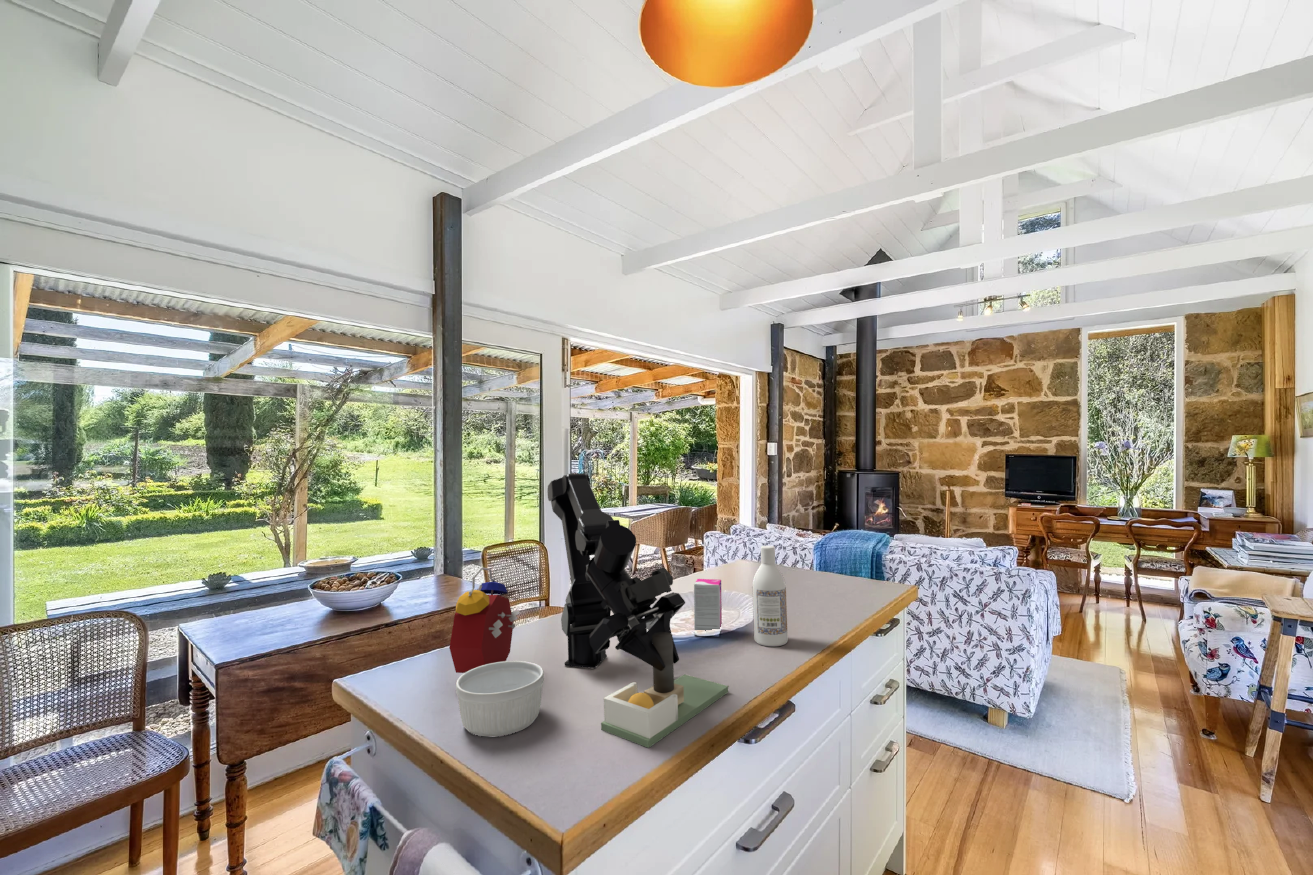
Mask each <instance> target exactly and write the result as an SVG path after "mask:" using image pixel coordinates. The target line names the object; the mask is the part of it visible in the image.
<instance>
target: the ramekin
mask: <svg viewBox="0 0 1313 875" xmlns="http://www.w3.org/2000/svg"><path fill="white" fill-rule="evenodd" d="M544 682H545V673H544V670H543V668H542V666H541V665H539V664H537V663H534V662H530V661H525V660H506V661H503V662H496V663H490V664H486V665H482V666H479V667H476V668H474V669H471V670H469V671H467V672H466V673H462V674H461V675H460V676H459V677H458V678H457V680H456V683H455V694H456V696H457V700H458V709H459V713H460V714H459V715H460V719H461V723H462V726H463V727H464V728H465V730H467V731H468V732H469V733H470V732H471V733H470V734H472V733H473V734H472V735H474V734H475V735H474V736H476V735H478V736H477V737H481V736H499V737H504V735H505V736H508V734H509V735H513V734H515V732H516V733H518V732H521V731H522V730H524V729H526V728H528V727H530V725H532V724H533V723H534V722H535V720H536V719H537V717H538V716H539V714H540V710H541V705H542V693H543V683H544ZM512 733H513V734H512Z"/></svg>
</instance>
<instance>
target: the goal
mask: <svg viewBox="0 0 1313 875" xmlns="http://www.w3.org/2000/svg"><path fill="white" fill-rule="evenodd" d="M636 693H639V692H638V682H636V681H633V682H631V683H629V684H627V685H626V686H624V687H622V688H620V689H618V690H616V691H614V692H612V693H611V694H609V695H606V696H605V697H603V710H604V711H603V715H604V716H603V717H604V718H603V719H604V720H603V721H604V722H606V723H609V724H612V725H614V726H617V727H620V728H622V729H625V730H628V731H630V732H633V733H636V734H638V735H641V736H643V737H646V738H649V739H650V738H651V737H653V736H654V735H656V734H657V733H659V732H660V731H662V730H663V729H665V728H666V727H668V726H669V725H671V724H672V723H673V722H675V721H677V720H678V700H677V695H676V694H672V695H671V696H669V697H668V698H666V699H664V700H663V701H661V702H660V703H658V704H656V705H655V706H653V707H651V708H650V709H647V708H644V707H641V706H638V705H635V704H632V703H629V702H628V701H629V699H630V697H631V696H632V695H634V694H636Z"/></svg>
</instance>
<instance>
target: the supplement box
mask: <svg viewBox="0 0 1313 875" xmlns="http://www.w3.org/2000/svg"><path fill="white" fill-rule="evenodd" d="M693 600H694V601H693V602H694V603H693V604H694V606H693V608H694V613H693V616H694V618H693V621H694V623H693V624H694V626H693V627H694V628H693V629H694V630H705V631H706V630H712V629H720V627H721V624H722V625H723V622H722V620H723V619H722V618H723V617H722V612H723V611H722V606H723V605H722V604H723V603H722V579H715V578H714V579H713V578H712V579H710V578H697V579H696V580H695V583H694V584H693Z"/></svg>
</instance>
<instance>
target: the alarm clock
mask: <svg viewBox="0 0 1313 875" xmlns="http://www.w3.org/2000/svg"><path fill="white" fill-rule="evenodd" d="M481 571H488V573H489V580H491V581H487V582H486V581H485V582H481V584H479V585H478V588H477V589H475V584H476V580H475V579H476V577H478V575H479V574H480V573H481ZM471 585H472V587H471V590H468V591H465V592H464V593H462V594H461V595H460V596H458V599H457V602H456V604H455V613H454V617H453V624H452V628H451V636H450V642H449V651H450V656H451V659H452V662H453V663H452V664H453V667H454V672H455V673H457V674H464V673H466V672H467V671H469V670H471V669H474V668H476V667H479V666H482V665H486V664H490V663H496V662H503V661H507V659H508V657H509V654H510V653H511V646H512V638H513V631H514V629H515V628H516V625H515V622H514V621H516V620H518V616H517V615H520V613H521V612H520V611H519V610H518V609H515V610H513V611H512V609H511V602H510V599H509V598H507V597H505V596H502V595H508V593H509V592H508V590H507V588H506V585H505V584H504V583H501V582H498V581H496V578H495V577H492V569H491V568H489V567H481V568H480V569H479V570H478V571H477V573H476V574H475V575H474V576H473V577H472V584H471Z"/></svg>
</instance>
